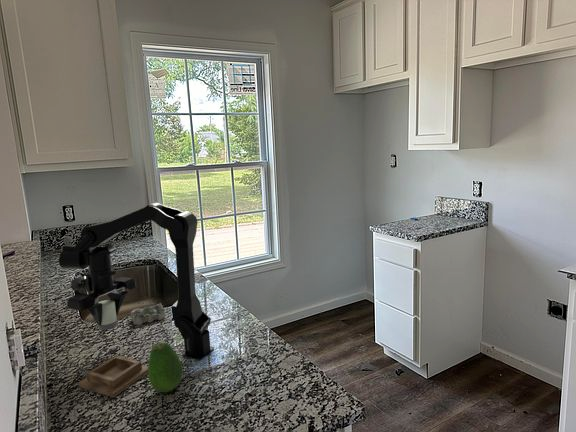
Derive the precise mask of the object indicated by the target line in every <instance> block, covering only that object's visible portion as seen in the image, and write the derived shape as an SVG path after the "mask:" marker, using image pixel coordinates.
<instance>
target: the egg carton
mask: <svg viewBox="0 0 576 432" xmlns="http://www.w3.org/2000/svg"><path fill="white" fill-rule="evenodd" d="M130 315H131V321H132V322H133V325H135V326H136V325H137V326H141V325H142V324H144V323H152V322H153V321H155V320H159V321H161V320H163V319H164V318H166V310H165V308H164V306H163V305H162V303H161V302H159V303H158V304H155V305H151V306H150V305H148V306H145V307H142V308H134V309H133V310H131V312H130Z"/></svg>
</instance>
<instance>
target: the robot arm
mask: <svg viewBox="0 0 576 432" xmlns="http://www.w3.org/2000/svg"><path fill="white" fill-rule="evenodd" d="M148 221H152V222H153V223H155V224H156V225H158V226H159V227H160V228H162V229H164V230H166V231H168V235H169V239H170V241H171V242H172V245H173V246H174V249H175V250H174V251H175V263H176V264H175V265H176V266H175V267H176V280H177V294H178V295H177V296H178V299H177V300H176V301H175V302H174V303H173V304H172V305H171V306H170V307H171V308H170V309H171V314H172V316H171V321H173V325H174V327H175V328H177V329H178V331H179V333H180V335H181V337H182V339H183V342H184V343H183V344H184V352H182V356H183V357H188V358H191V359H196V360H199V361H200V360H203V359H204V358H205V357H206V356H207V355H208V354H210V353H211V352H212V351H214V350H215V347H214V346H211V339H210V336H211V335H210V330H208V329H207V328H208V327H209V326H210V324H211V321H212V318H211V317H210V316H208V314H206V313H205V312H204V311H203V309H202V306H201V305H202V304H201V302H200V300H199V297H198V296H197V294H196V280H195V279H196V278H195V260H194V257H195V256H194V242H195V239H196V235H197V230H198V218H197V215H195V214H194V213H192V212H191V211H182V210H180V209H178V208H174V207H171V206H166V205H164V204H161V203H160V202H153V203H150V204H148V205H145V207H142V208H139V209H137V210H135V211H133V212H130V213H128V214H125V215H123V216H121V217H118V218H115V219H112V220H105V221H101V222H98V223H95V224H92V225H88V226H85V227H83V228H82V229H81V230H80V237H79V239H78V241H77V243H76V244H70V243H69V244H65V245H64V244H63V245H62V247H61V248H62V250H61V251H60V254H59V257H58V263H59V266H60V268H62V269H64V270H73V269H74V270H84V269H87V268H88V271H89V272H87V273H86V274H85V276H86V278H84V279H81V277H77V278H74V279H71V280H70V287H71V290H72V291H73V292H76V291H78V294H75V295H72V296H70V297H69V298H67V301H66V305H67V309H71V310H75V311H80V312H81V311H85V310H87V311H88V312H89V314H90V315H91V316H92V318H93V320H94V321H95V323H96V325H97V326H98V325H101V323H102V303H98V302H99V299H100V298H102V297H104V296H108V298H109V300H114V301H115V308H116V317H118V315H119V312H120V309H121V306H122V304H123V302H124V300H125V298H126V296H127V295H128V294H129V292H128V291H130V290H133V289H135V288H137V283H136V280H135V279H134V278H133V277H125V276H120V277H118V278H115V279H114V277H113V276H114V275H116V274H117V271H116V269H115V270H114V269H113V266H112V257H111V254H114V253H115V252H117V251H118V248H116V247H115V246H114V245H112V243H108V244H105V245H104V246H100V245H102V244H104V243H107V242H109V241H110V240H112V239H114V238H115V237H117V235H118V234H121V232H124V231H126V230H129V229H131V228H133V227H136V226H138V225H140V224H143V223H146V222H148ZM92 248H93V249H92ZM126 290H127V291H126ZM84 291H85V292H87V293H89V294H87V293H82V292H84ZM90 292H91V293H90Z"/></svg>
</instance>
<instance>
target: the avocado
mask: <svg viewBox="0 0 576 432" xmlns="http://www.w3.org/2000/svg"><path fill="white" fill-rule="evenodd" d="M147 366H148V373H147V374H148V380H149V383H150V385H151V386H152V388H153V389H154V390H155V392H156V391H157V392H159V393H169V392H172V391H173V390H174V389H176V388H177V387H178V386H179V385H180V383H181V381H182V377H183V373H184V372H183V366H182V362H181V359H180V358H179V356H178V354H177V352H176V351H175V350H174V348H173V347H172V345H170V344H169V343H167V342H159V343H157V344H155V345H154V346H153V348H151V351H150V355H149V360H148V365H147Z"/></svg>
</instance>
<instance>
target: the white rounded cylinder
mask: <svg viewBox="0 0 576 432" xmlns="http://www.w3.org/2000/svg"><path fill="white" fill-rule="evenodd" d="M98 303H102V323H101V325H97V329H98V330H99V331H109V330H112V329H115V328H117V327H118V319H117V317H118V316H117V317H116V308H115V301H114V300H110V299H106V300H101V301H98Z"/></svg>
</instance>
